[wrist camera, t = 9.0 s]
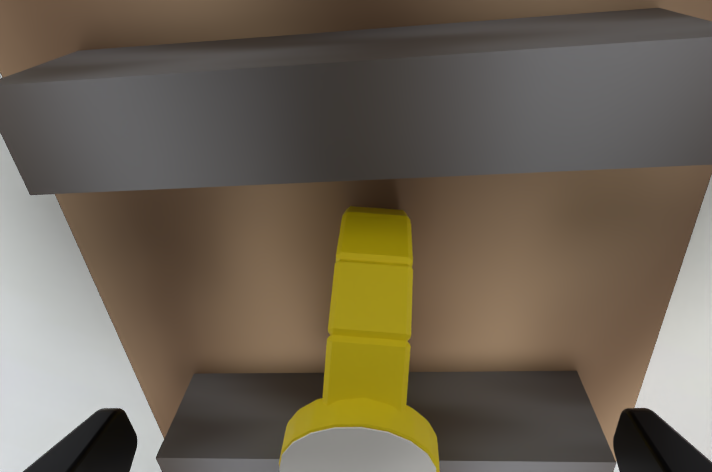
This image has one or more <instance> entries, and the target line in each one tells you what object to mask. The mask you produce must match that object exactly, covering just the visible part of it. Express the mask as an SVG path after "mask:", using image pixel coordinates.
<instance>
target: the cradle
mask: <svg viewBox="0 0 712 472" xmlns="http://www.w3.org/2000/svg"><path fill="white" fill-rule="evenodd" d="M0 73H1V75H2V77H3V78H1V79H0V133H1V135H2V137H3V139H4V141H5V143H6V145H7V147H8V150H9V152H10V154H11V156H12V158H13V160H14V162H15V164H16V166H17V168H18V171H19V173H20V175H21V177H22V179H23V181H24V183H25V185H26V187H27V189H28V191H29V194H30V195H43V194H55V196H56V198H57V200H58V202H59V205H60V207H61V209H62V211H63V213H64V216H65V218H66V220H67V222H68V225H69V227H70V229H71V231H72V234H73V236H74V238H75V240H76V243H77V245H78V247H79V249H80V251H81V254H82V256H83V258H84V260H85V263H86V265H87V267H88V269H89V272H90V274H91V276H92V278H93V281H94V283H95V285H96V287H97V289H98V292H99V294H100V296H101V298H102V301H103V303H104V305H105V307H106V310H107V312H108V314H109V316H110V319H111V321H112V323H113V325H114V327H115V330H116V332H117V334H118V336H119V339H120V341H121V343H122V345H123V348H124V350H125V352H126V354H127V357H128V359H129V361H130V363H131V365H132V368H133V370H134V372H135V374H136V377H137V379H138V381H139V383H140V386H141V388H142V390H143V392H144V395H145V397H146V399H147V401H148V403H149V406H150V408H151V410H152V412H153V415H154V417H155V419H156V421H157V424H158V426H159V428H160V430H161V433H162V435H163V437H164V441H163V443H162V445H161V447H160V450H159V452H158V454H157V456H156V460H157V462H158V464H159V466H160V468H161V470H162V472H280V471H279V460H280V455H281V450H282V445H283V440H284V436H285V431H286V426H287V424H288V422H289V421H290V419H291V418H292V417H293V416H294V414H295V413H296V412H297V411H298V410H299V409H301V408H302V407H304V406H306V405H308V404H309V403H311V402H313V401H315V400H317V399H320V398H323V385H324V371H325V358H326V344H327V338H328V337H329V336H330V334H329V333H328V323H329V313H330V304H331V295H332V285H333V276H334V267H335V263H336V252H337V245H338V239H339V233H340V227H341V221H342V216H343V214H344V212H345V211H346V209H348V208H349V207H350V206H355V207H369V208H382V209H396V210H403V211H404V212H405V213H406V214H407V216H408V217H409V219H410V221H411V232H412V253H413V264H412V269H413V285H412V322H411V337H410V339H409V340H408V343H409V344H410V346H411V348H410V361H409V375H408V388H407V402H406V405H407V406H409V407H411V408H413V409H414V410H415V411H417V412H418V413H419V414H420V415H422V416H423V417H424V418H425V419H426V420H427V421H428V422H429V423H430V425H431V427H432V428H433V430H434V432H435V434H436V436H437V443H438V455H439V468H440V472H613V471H614V468H615V465H616V461H617V460H616V457H615V453H614V448H613V437H614V434H615V431H616V427H617V424H618V421H619V418H620V415H621V412H622V411H623V410H624V409H626V408H634V407H635V404H636V401H637V398H638V395H639V392H640V389H641V386H642V383H643V380H644V377H645V374H646V371H647V368H648V365H649V362H650V359H651V356H652V353H653V350H654V347H655V344H656V341H657V338H658V334H659V331H660V328H661V325H662V322H663V319H664V316H665V313H666V310H667V307H668V304H669V301H670V298H671V295H672V292H673V289H674V286H675V283H676V280H677V277H678V274H679V271H680V268H681V265H682V262H683V259H684V256H685V253H686V250H687V247H688V244H689V241H690V238H691V235H692V232H693V229H694V226H695V223H696V220H697V217H698V214H699V211H700V208H701V205H702V202H703V199H704V196H705V193H706V190H707V187H708V184H709V180H710V177H711V174H712V0H0Z"/></svg>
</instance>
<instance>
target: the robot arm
mask: <svg viewBox="0 0 712 472" xmlns="http://www.w3.org/2000/svg"><path fill="white" fill-rule="evenodd" d="M136 448H137V435H136V433H135V431H134V429H133V427H132V425H131V423H130V421H129V419H128V417H127V415H126V413H125V411H124V410H122V409H120V408H104V409H100V410H98V411H96V412H95V413H94V414H93V415H91V416H90V417H89V418H88V419H86V420H85V421H84V422H83V423H82V424H80V425H79V426H78V427H77V428H75V429H74V430H73V431H72V432H71V433H69V434H68V435H67V436H66V437H64V438H63V439H62V440H61V441H60V442H58V443H57V444H56V445H55V446H54V447H52V448H51V449H50V450H49V451H47V452H46V453H45V454H44V455H43V456H41V457H40V458H39V459H38V460H36V461H35V462H34V463H33V464H32V465H30V466H29V467H28V468H27V469H25V470H24V471H23V472H130V468H131V465H132V462H133V458H134V455H135V451H136ZM613 448H614V453H615V457H616V460H617V464H618V467H619V471H620V472H712V462H711V461H710V460H709V459H708V458H706V457H705V456H704V455H703V454H702V453H701V452H699V451H698V450H697V449H696V448H695V447H694V446H693V445H691V444H690V443H689V442H688V441H687V440H686V439H685V438H683V437H682V436H681V435H680V434H679V433H678V432H677V431H675V430H674V429H673V428H672V427H671V426H670V425H668V424H667V423H666V422H665V421H664V420H663V419H662V418H660V417H659V416H658V415H657V414H656V413H655V412H653V411H652V410H650V409H646V408H626V409H624V410H623V411H622V412H621V415H620V418H619V421H618V424H617V427H616V431H615V434H614V437H613Z"/></svg>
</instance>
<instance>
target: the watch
mask: <svg viewBox="0 0 712 472" xmlns="http://www.w3.org/2000/svg"><path fill="white" fill-rule="evenodd" d="M412 264H413V253H412V232H411V221H410V219H409V217H408V216H407V214H406V213H405V212H404V211H403V210H396V209H382V208H369V207H355V206H350V207H349V208H348V209H346V211H345V212H344V214H343V216H342V221H341V227H340V233H339V239H338V245H337V252H336V263H335V267H334V276H333V285H332V295H331V304H330V313H329V323H328V333H329V334H330V336H329V337H328V338H327V344H326V358H325V371H324V385H323V398H320V399H317V400H315V401H313V402H311V403H309V404H308V405H306V406H304V407H302V408H301V409H299V410H298V411H297V412H296V413H295V414H294V416H293V417H292V418H291V419H290V421H289V422H288V424H287V426H286V431H285V436H284V440H283V445H282V450H281V455H280V460H279V471H280V472H440V468H439V455H438V443H437V436H436V434H435V432H434V430H433V428H432V427H431V425H430V423H429V422H428V421H427V420H426V419H425V418H424V417H423V416H422V415H420V414H419V413H418V412H417V411H415V410H414V409H413V408H411V407H409V406H407V405H406V402H407V388H408V375H409V361H410V348H411V346H410V344H409V343H408V340H409V339H410V337H411V322H412V285H413V269H412Z"/></svg>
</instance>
